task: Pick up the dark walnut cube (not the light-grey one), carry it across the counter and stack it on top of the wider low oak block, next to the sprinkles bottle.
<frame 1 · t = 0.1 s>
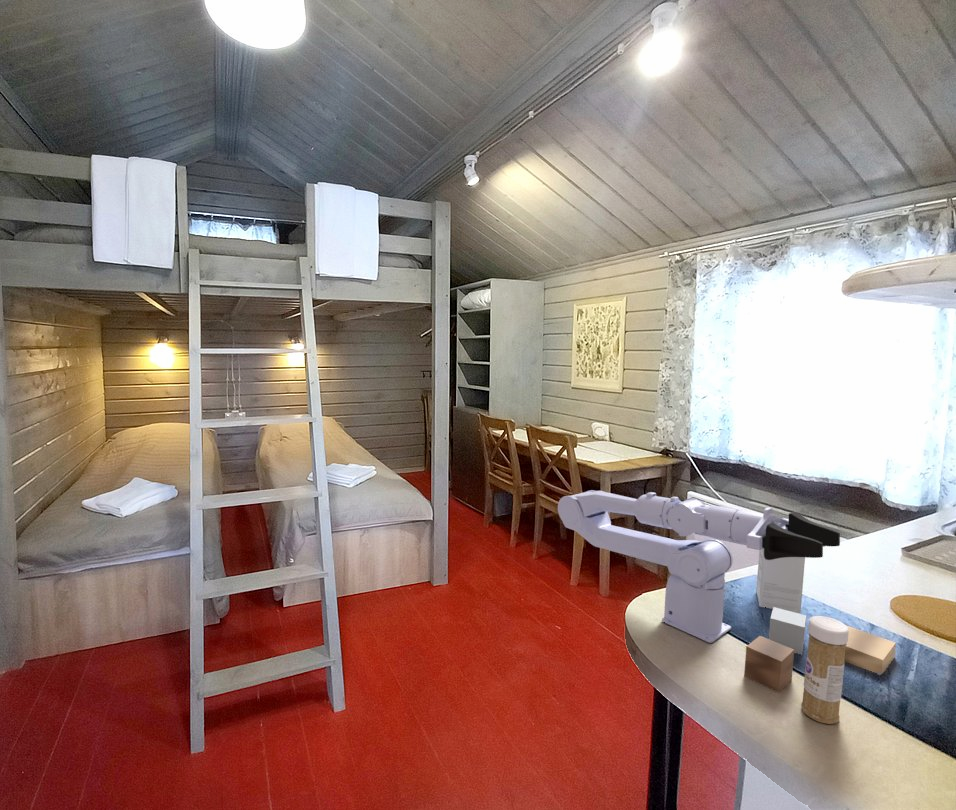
hand: (831, 544, 78), 22 cm above the table, tool horizontal, fingers open, 7 cm apart
oak base block: (858, 657, 87), on the table
sprinkles bottle: (820, 715, 72), on the table
walnut cube: (767, 678, 80), on the table
supplement box: (777, 604, 105), on the table
light grey cube: (786, 644, 90), on the table
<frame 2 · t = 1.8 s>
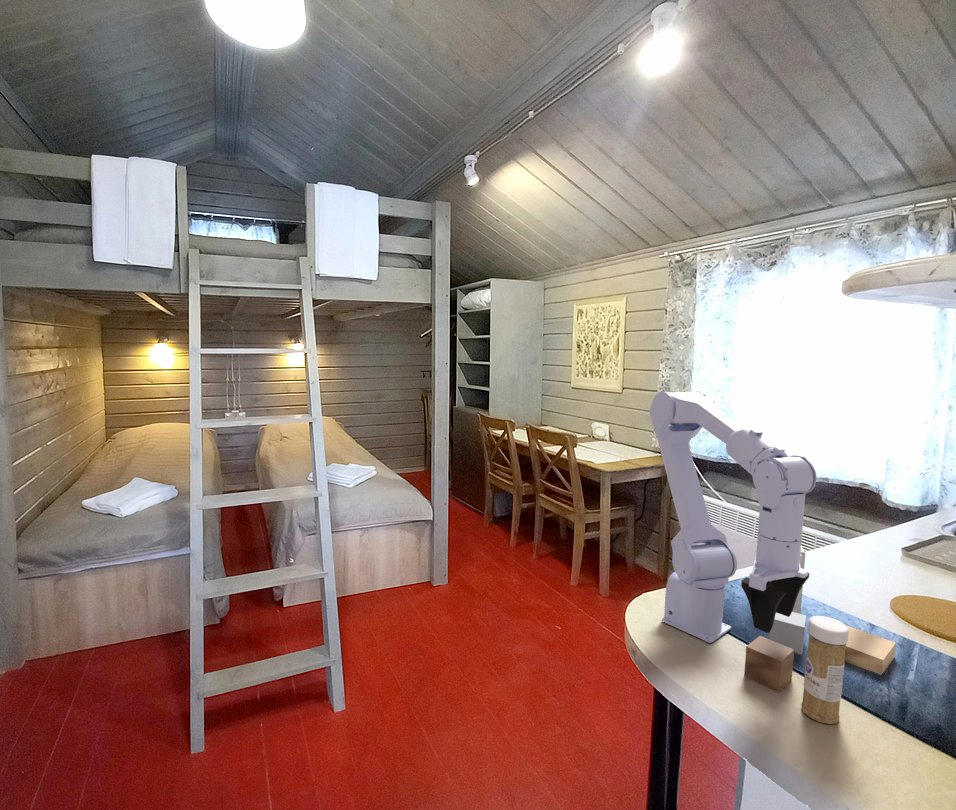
hand: (772, 621, 79), 9 cm above the table, tool pointing down, fingers open, 7 cm apart
nothing on the table moved.
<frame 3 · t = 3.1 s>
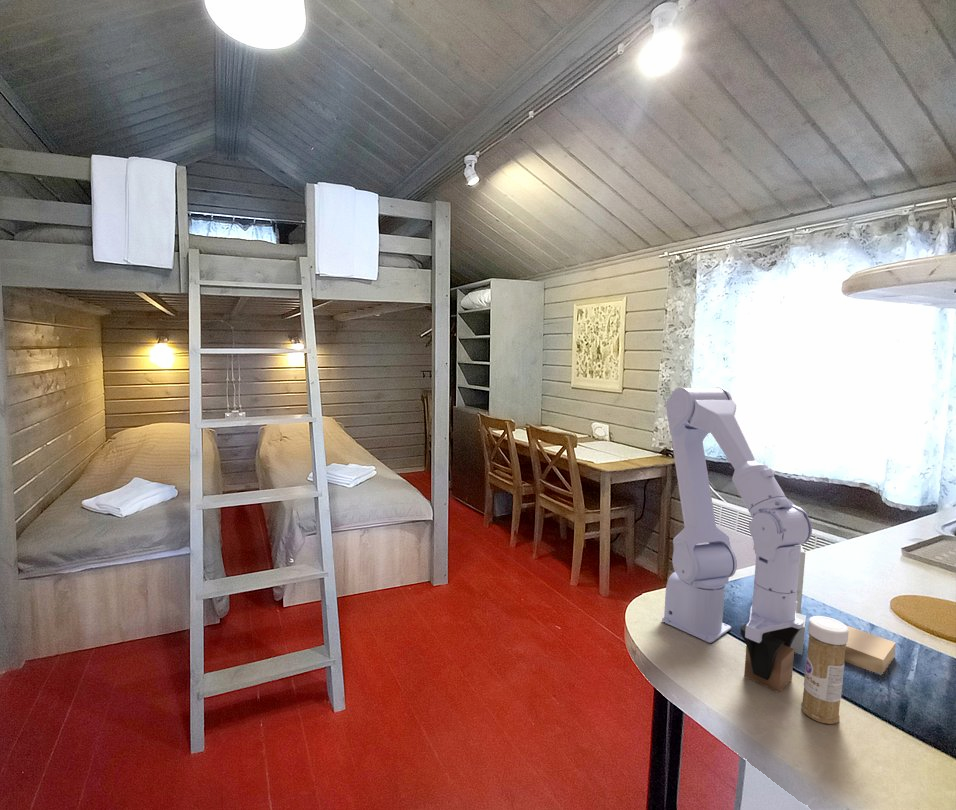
hand: (768, 669, 80), 1 cm above the table, tool pointing down, fingers closed on walnut cube, 5 cm apart
walnut cube: (767, 677, 80), on the table, touching gripper
everything else where it was.
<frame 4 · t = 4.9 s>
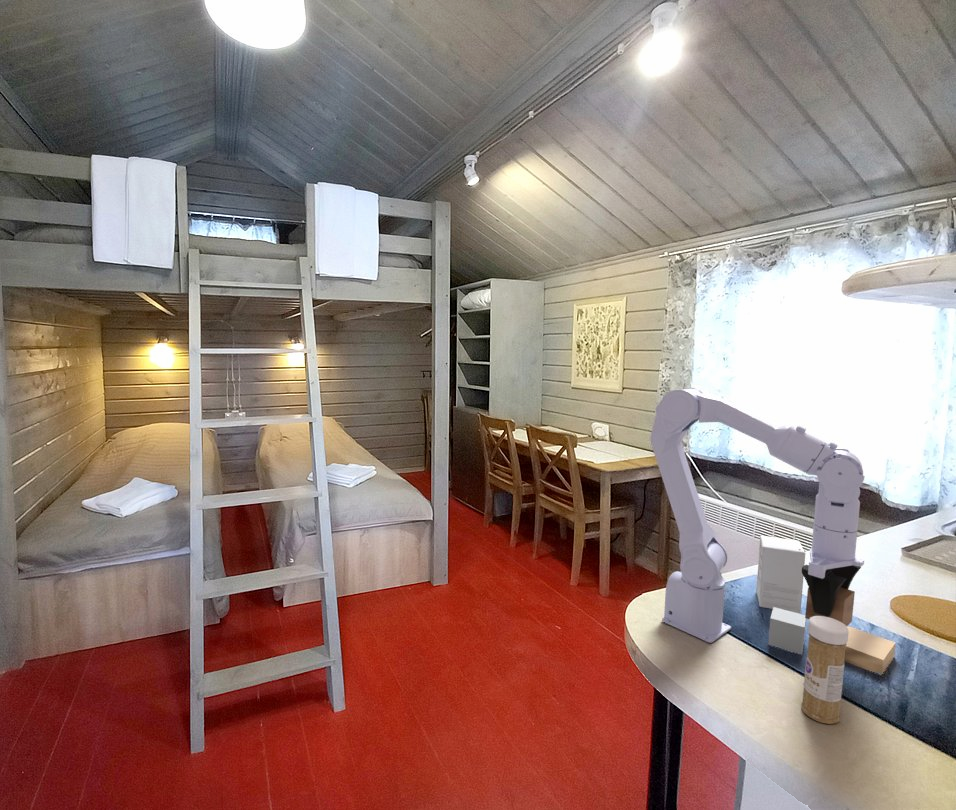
hand: (828, 608, 83), 9 cm above the table, tool pointing down, fingers closed on walnut cube, 5 cm apart
walnut cube: (828, 619, 83), point 8 cm above the table, touching gripper
everything else where it was.
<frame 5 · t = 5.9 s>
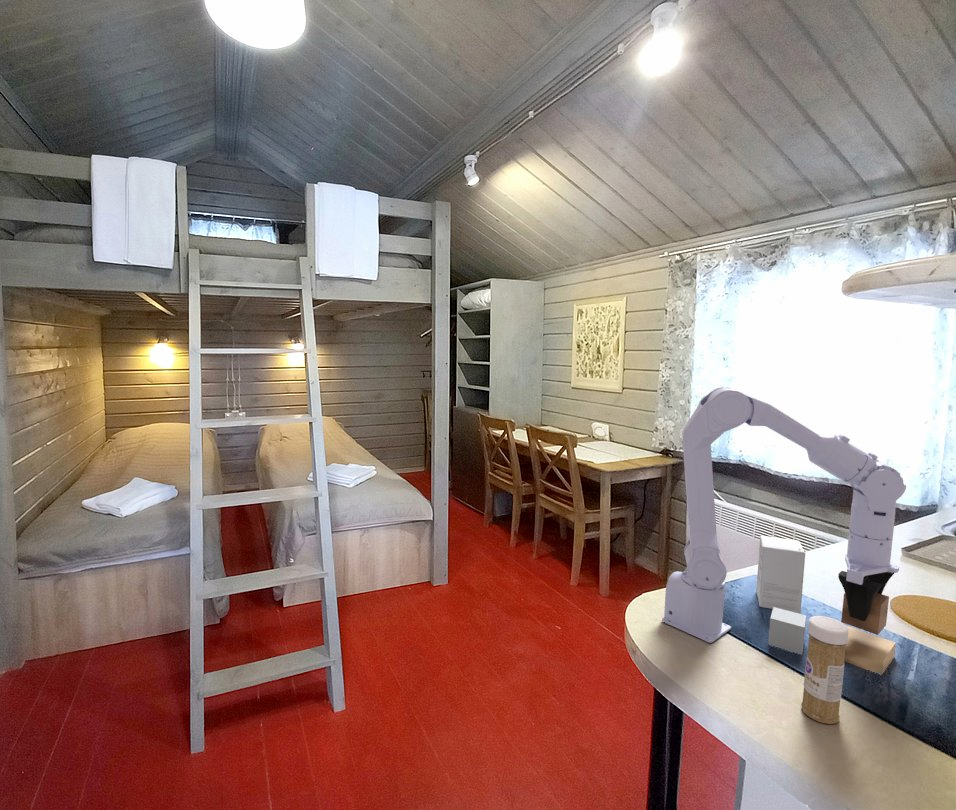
hand: (862, 613, 86), 7 cm above the table, tool pointing down, fingers closed on walnut cube, 5 cm apart
walnut cube: (863, 623, 86), point 6 cm above the table, touching gripper
everything else where it was.
when the fingers open (5 cm above the table, at t = 6.7 s): walnut cube drops 1 cm, resting on oak base block.
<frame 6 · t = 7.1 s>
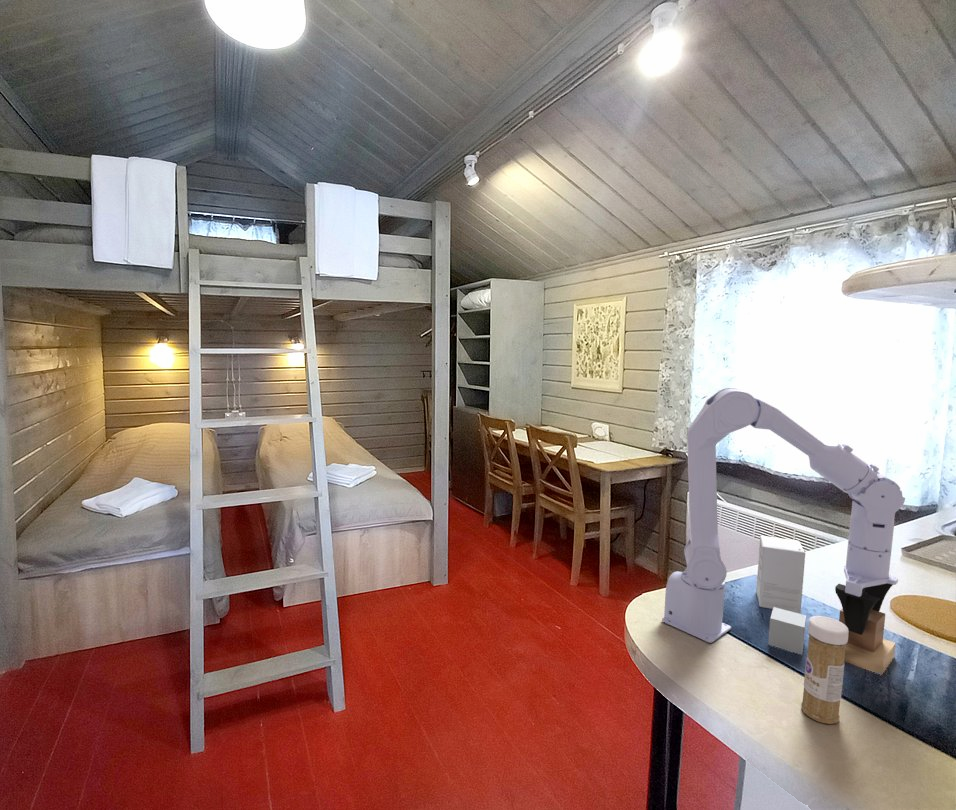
hand: (861, 624, 86), 5 cm above the table, tool pointing down, fingers open, 7 cm apart
oak base block: (858, 657, 87), on the table, touching walnut cube
walnut cube: (859, 640, 87), point 2 cm above the table, touching oak base block
everything else where it was.
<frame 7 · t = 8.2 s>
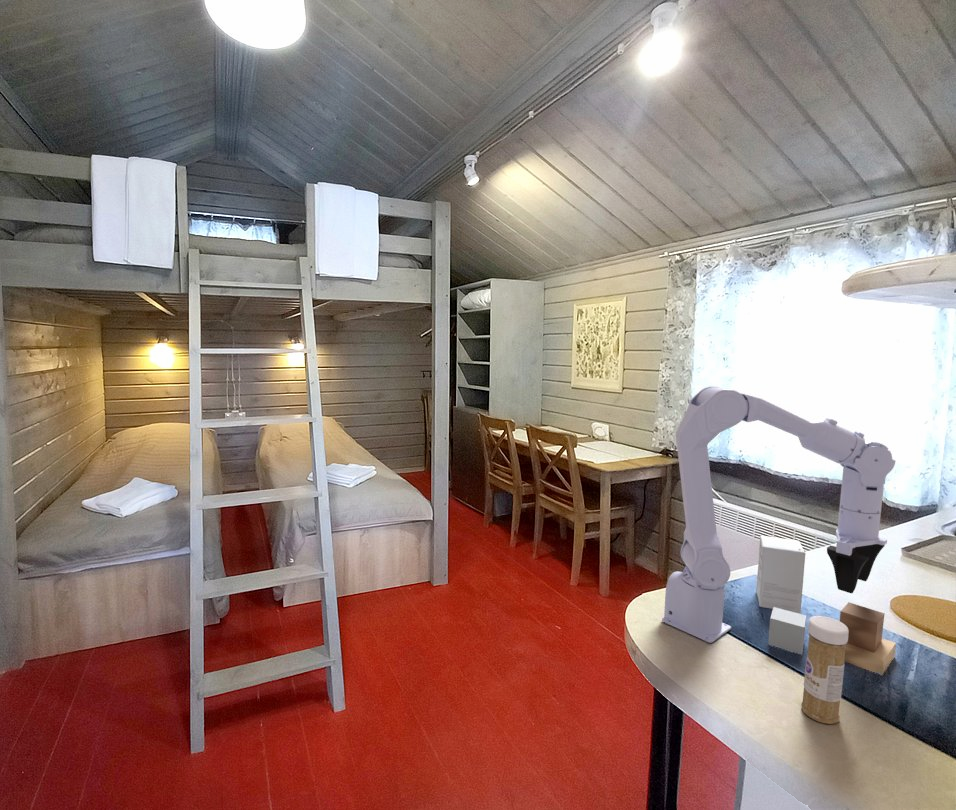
hand: (852, 584, 90), 10 cm above the table, tool pointing down, fingers open, 7 cm apart
nothing on the table moved.
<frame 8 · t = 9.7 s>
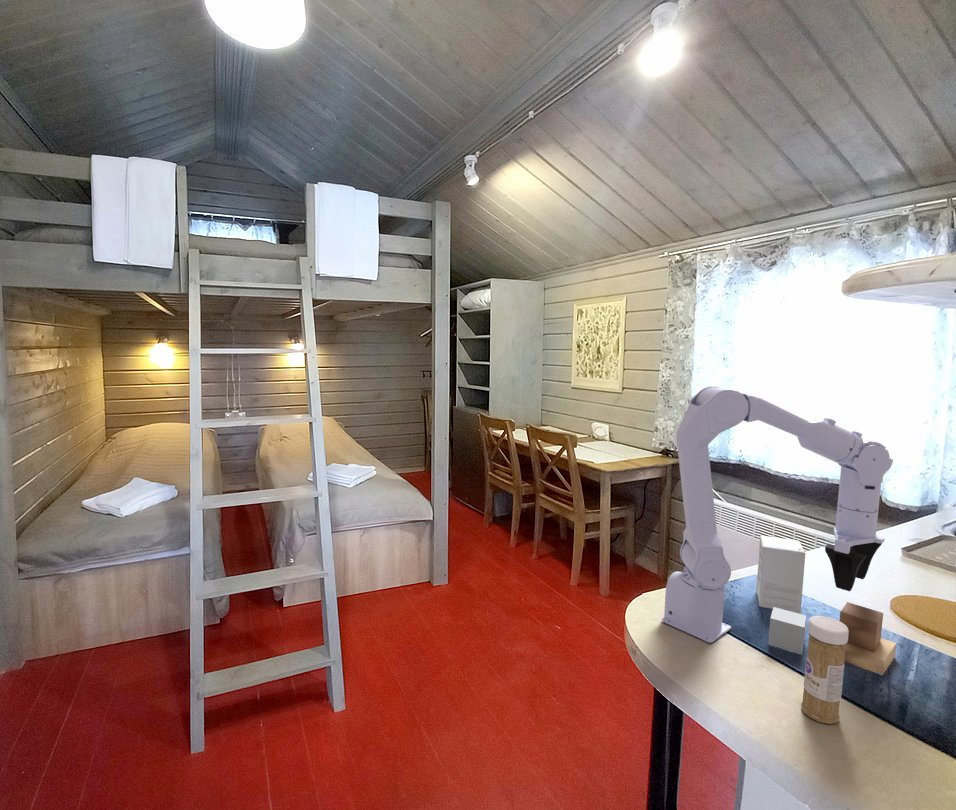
hand: (850, 582, 90), 10 cm above the table, tool pointing down, fingers open, 7 cm apart
oak base block: (858, 657, 87), on the table
walnut cube: (858, 640, 86), point 3 cm above the table
everything else where it was.
at the end: walnut cube 0.2 cm off-centre on the oak base block, point 3.0 cm above the oak base block's base; walnut cube tilted 0°; the gripper is holding nothing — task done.
